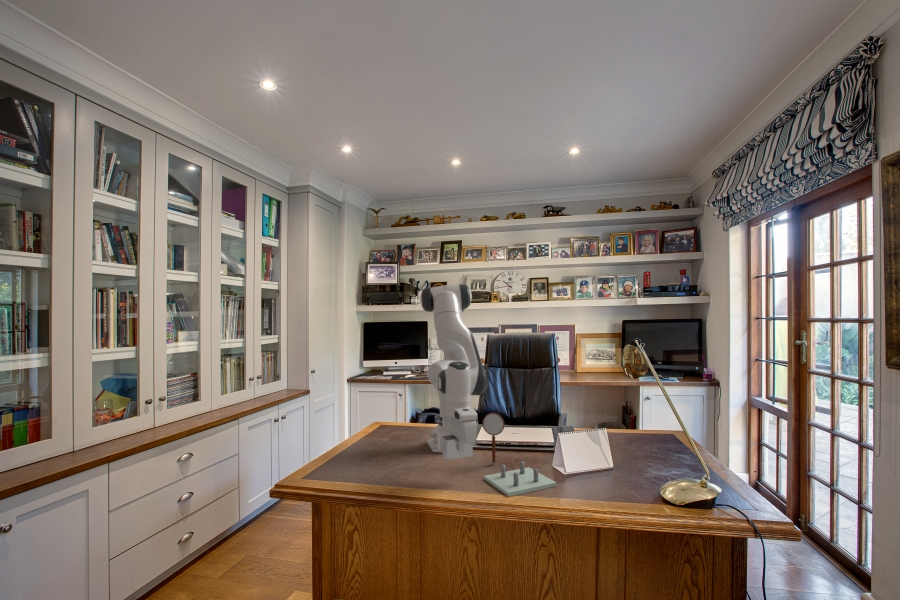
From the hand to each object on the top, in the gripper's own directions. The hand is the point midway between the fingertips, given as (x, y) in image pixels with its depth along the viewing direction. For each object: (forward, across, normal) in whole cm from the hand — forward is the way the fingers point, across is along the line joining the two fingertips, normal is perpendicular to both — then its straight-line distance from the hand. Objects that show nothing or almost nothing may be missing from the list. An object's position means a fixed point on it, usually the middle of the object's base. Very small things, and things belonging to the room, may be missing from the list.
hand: (457, 449), depth 146 cm
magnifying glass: (+12, -9, +20) cm, 25 cm away
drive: (+2, 0, 0) cm, 2 cm away
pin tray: (+11, +10, +19) cm, 24 cm away
